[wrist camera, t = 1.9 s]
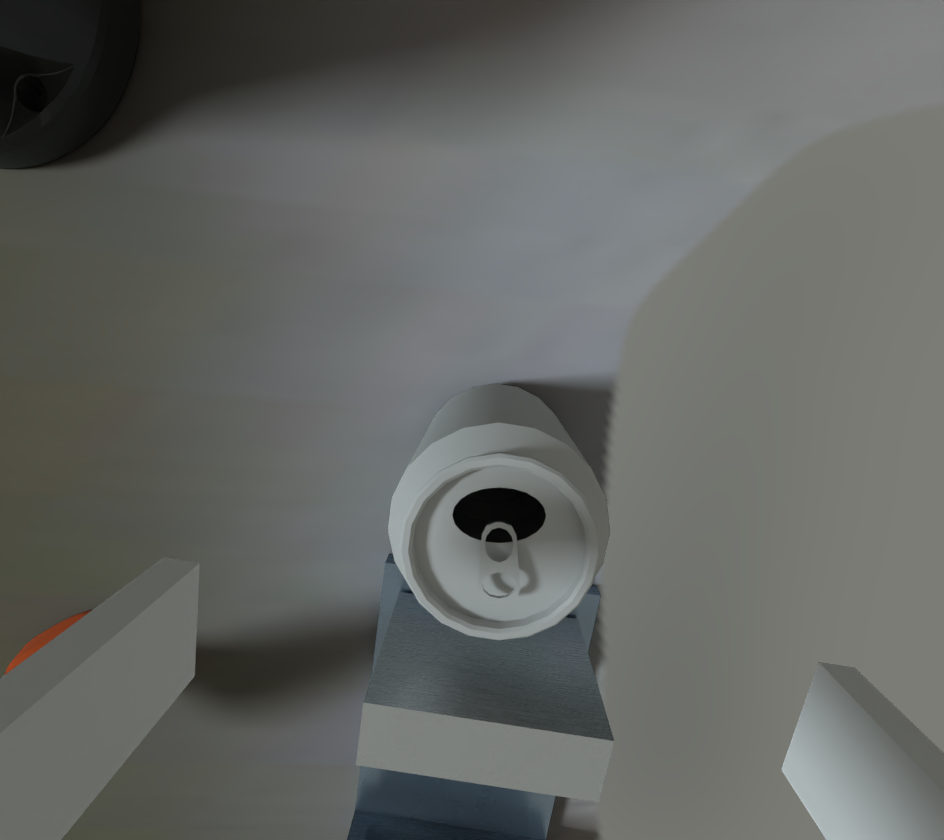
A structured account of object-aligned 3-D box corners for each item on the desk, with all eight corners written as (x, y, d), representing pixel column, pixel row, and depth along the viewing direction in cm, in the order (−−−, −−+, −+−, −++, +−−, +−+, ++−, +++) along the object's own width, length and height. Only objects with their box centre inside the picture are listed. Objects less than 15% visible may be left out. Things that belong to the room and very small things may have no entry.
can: (566, 381, 26) (631, 435, 14) (562, 515, 27) (616, 665, 16) (424, 381, 26) (370, 434, 14) (427, 514, 28) (381, 661, 16)
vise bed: (388, 554, 28) (343, 662, 19) (596, 585, 28) (646, 708, 19) (354, 832, 32) (304, 1025, 24) (535, 860, 32) (553, 1064, 23)
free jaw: (399, 591, 27) (363, 702, 19) (578, 619, 27) (614, 741, 19) (391, 648, 28) (354, 777, 20) (566, 675, 28) (595, 813, 20)
